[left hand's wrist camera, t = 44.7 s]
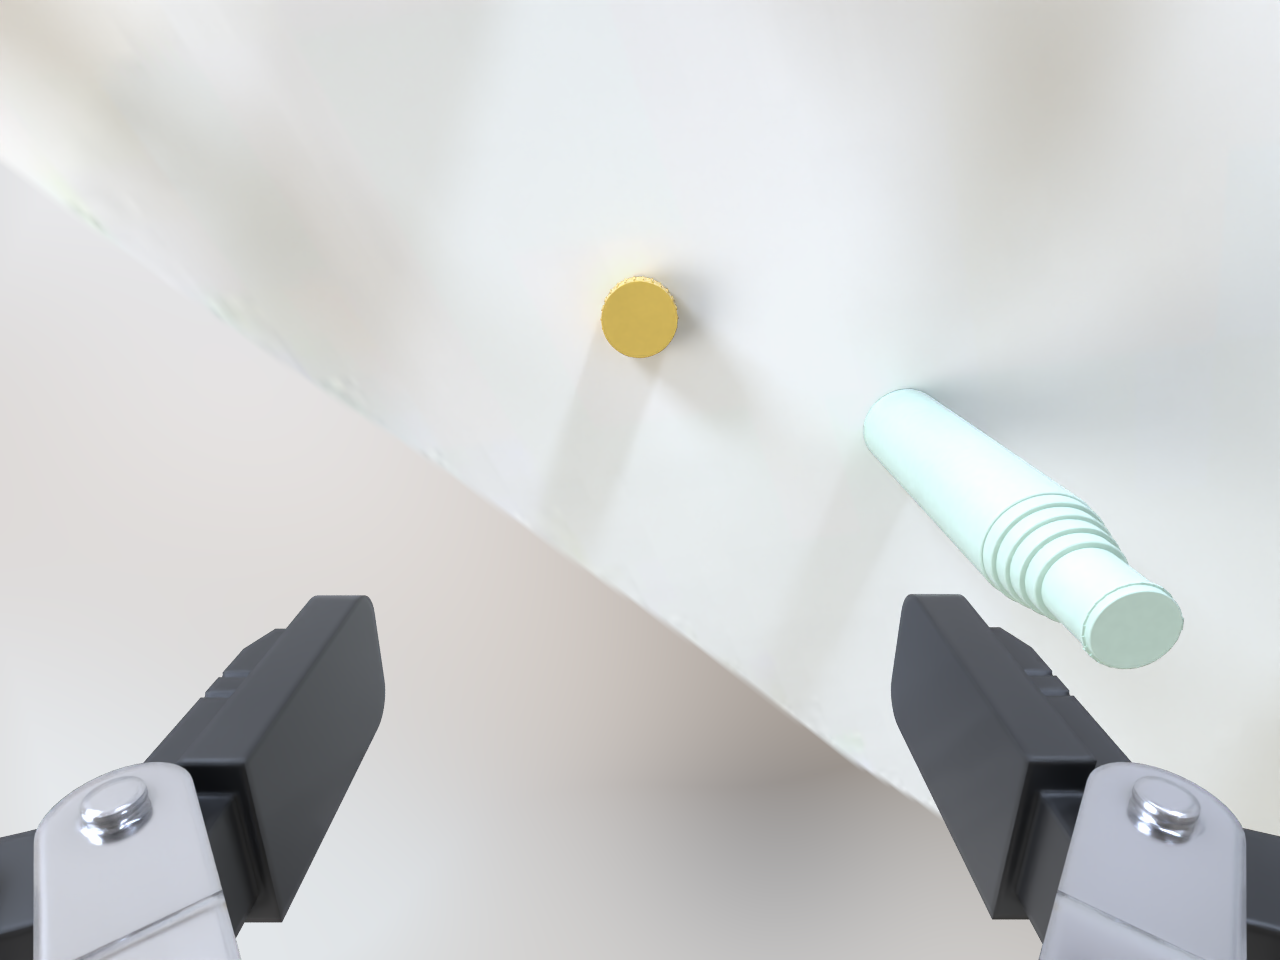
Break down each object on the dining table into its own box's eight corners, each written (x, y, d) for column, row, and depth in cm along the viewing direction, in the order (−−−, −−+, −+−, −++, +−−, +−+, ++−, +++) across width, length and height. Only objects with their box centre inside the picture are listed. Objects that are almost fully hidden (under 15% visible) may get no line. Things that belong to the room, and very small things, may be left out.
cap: (689, 329, 44) (692, 335, 42) (624, 363, 45) (624, 372, 43) (654, 261, 43) (655, 265, 40) (588, 299, 43) (585, 304, 41)
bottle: (863, 467, 47) (1055, 699, 25) (862, 393, 45) (1066, 573, 24) (941, 458, 47) (1200, 684, 25) (942, 384, 45) (1223, 557, 23)
